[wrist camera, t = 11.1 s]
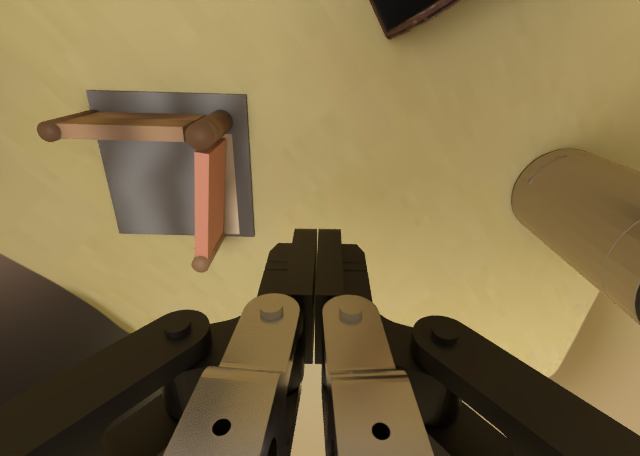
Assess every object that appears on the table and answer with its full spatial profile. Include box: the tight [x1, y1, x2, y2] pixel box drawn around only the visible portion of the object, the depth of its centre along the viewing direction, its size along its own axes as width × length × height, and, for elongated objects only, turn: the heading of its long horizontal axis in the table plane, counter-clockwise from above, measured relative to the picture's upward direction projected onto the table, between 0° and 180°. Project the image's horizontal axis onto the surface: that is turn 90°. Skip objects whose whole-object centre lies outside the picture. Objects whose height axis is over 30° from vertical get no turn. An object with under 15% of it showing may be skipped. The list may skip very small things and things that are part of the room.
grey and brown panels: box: [37, 90, 255, 237], centre depth 35 cm, size 16×15×8 cm
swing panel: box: [192, 138, 226, 272], centre depth 35 cm, size 12×2×6 cm, turn 172°
